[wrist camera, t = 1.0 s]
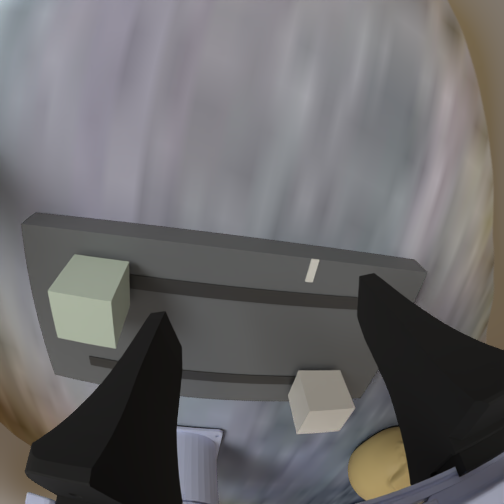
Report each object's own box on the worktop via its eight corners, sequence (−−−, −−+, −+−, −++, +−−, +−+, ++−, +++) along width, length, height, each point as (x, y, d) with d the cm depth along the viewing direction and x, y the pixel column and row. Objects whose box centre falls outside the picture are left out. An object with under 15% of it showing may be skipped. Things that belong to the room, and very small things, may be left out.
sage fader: (131, 303, 19) (115, 348, 16) (80, 295, 19) (57, 337, 15) (130, 259, 18) (111, 301, 14) (75, 252, 17) (47, 290, 14)
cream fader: (326, 392, 25) (339, 430, 22) (287, 392, 25) (296, 434, 21) (339, 367, 24) (355, 408, 20) (297, 368, 23) (309, 411, 20)
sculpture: (428, 424, 37) (454, 478, 28) (364, 463, 40) (382, 516, 31) (401, 406, 33) (433, 475, 23) (326, 452, 36) (345, 518, 26)
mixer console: (354, 382, 29) (360, 398, 27) (61, 358, 24) (54, 375, 22) (414, 259, 23) (428, 273, 21) (35, 212, 18) (20, 224, 16)
